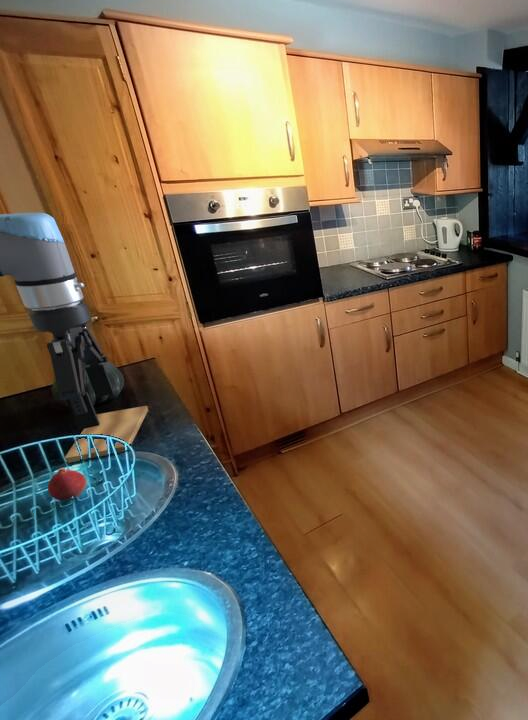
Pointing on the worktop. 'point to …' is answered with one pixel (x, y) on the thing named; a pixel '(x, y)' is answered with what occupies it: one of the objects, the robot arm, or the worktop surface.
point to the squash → (113, 376)
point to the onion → (66, 484)
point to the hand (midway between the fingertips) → (98, 409)
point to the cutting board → (110, 432)
